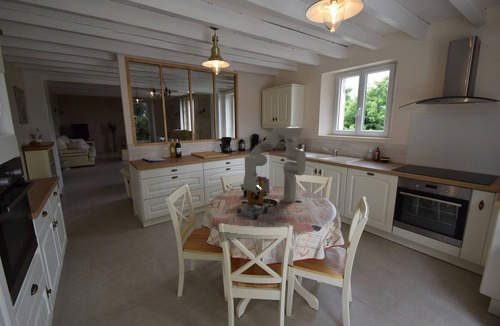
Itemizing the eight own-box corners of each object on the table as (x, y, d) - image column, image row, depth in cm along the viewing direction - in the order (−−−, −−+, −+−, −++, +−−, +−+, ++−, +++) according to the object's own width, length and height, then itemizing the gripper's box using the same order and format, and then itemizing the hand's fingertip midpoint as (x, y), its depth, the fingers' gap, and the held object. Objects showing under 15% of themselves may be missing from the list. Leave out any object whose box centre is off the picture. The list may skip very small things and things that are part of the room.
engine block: (250, 210, 157) (250, 203, 156) (255, 212, 155) (255, 205, 154) (245, 213, 153) (245, 206, 152) (250, 215, 150) (250, 208, 149)
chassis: (251, 206, 168) (251, 201, 167) (268, 211, 159) (268, 205, 158) (236, 214, 153) (236, 209, 153) (254, 220, 145) (254, 214, 144)
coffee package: (261, 206, 169) (261, 178, 164) (245, 204, 172) (245, 176, 168) (264, 201, 178) (265, 174, 174) (249, 199, 182) (249, 173, 177)
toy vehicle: (245, 194, 195) (245, 177, 192) (266, 192, 201) (266, 176, 198) (248, 197, 187) (248, 180, 184) (269, 195, 192) (270, 178, 189)
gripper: (264, 174, 147) (264, 199, 150) (243, 171, 156) (244, 194, 160) (258, 177, 141) (258, 202, 144) (236, 173, 150) (237, 197, 154)
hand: (251, 198), depth 152 cm, fingers open, 9 cm apart
